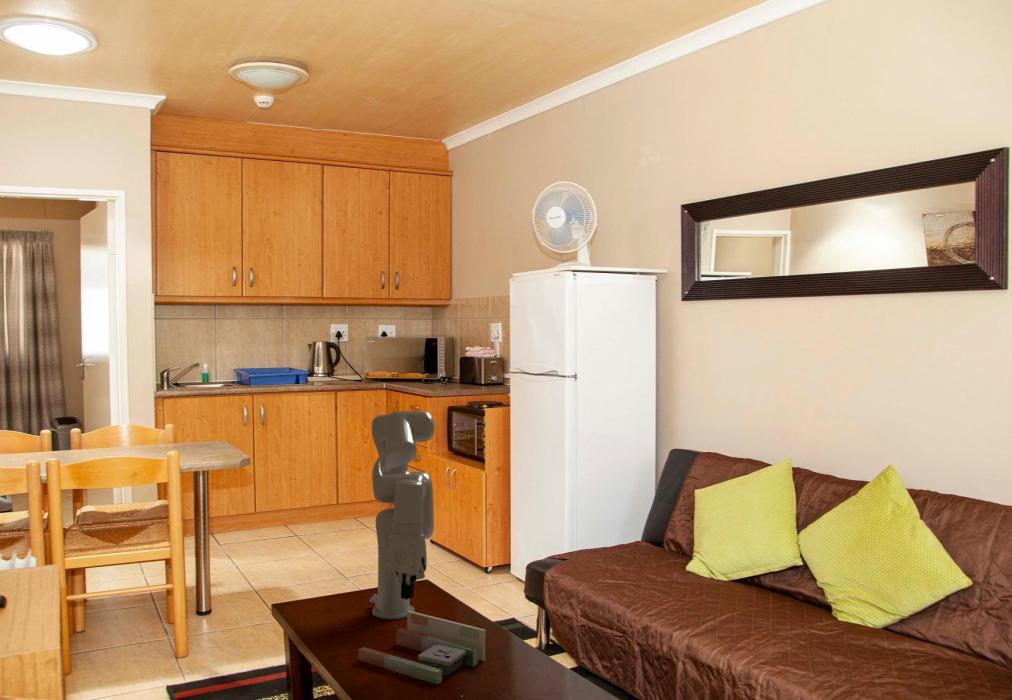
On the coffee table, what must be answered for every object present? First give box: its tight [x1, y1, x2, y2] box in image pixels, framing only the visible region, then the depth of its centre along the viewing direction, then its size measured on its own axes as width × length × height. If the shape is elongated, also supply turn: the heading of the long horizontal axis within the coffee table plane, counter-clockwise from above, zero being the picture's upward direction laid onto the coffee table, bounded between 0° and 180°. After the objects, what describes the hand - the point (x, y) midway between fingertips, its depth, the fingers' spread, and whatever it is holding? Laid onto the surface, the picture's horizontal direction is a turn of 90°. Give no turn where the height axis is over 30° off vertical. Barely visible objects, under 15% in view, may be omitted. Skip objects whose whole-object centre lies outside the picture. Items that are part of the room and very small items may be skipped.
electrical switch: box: [417, 645, 466, 676], centre depth 218 cm, size 9×5×9 cm
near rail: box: [357, 646, 443, 685], centre depth 216 cm, size 26×2×3 cm, turn 55°
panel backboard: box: [406, 611, 486, 662], centre depth 231 cm, size 26×1×8 cm, turn 55°
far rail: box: [395, 627, 479, 667], centre depth 228 cm, size 26×2×4 cm, turn 55°
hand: (407, 597), depth 225 cm, fingers closed
